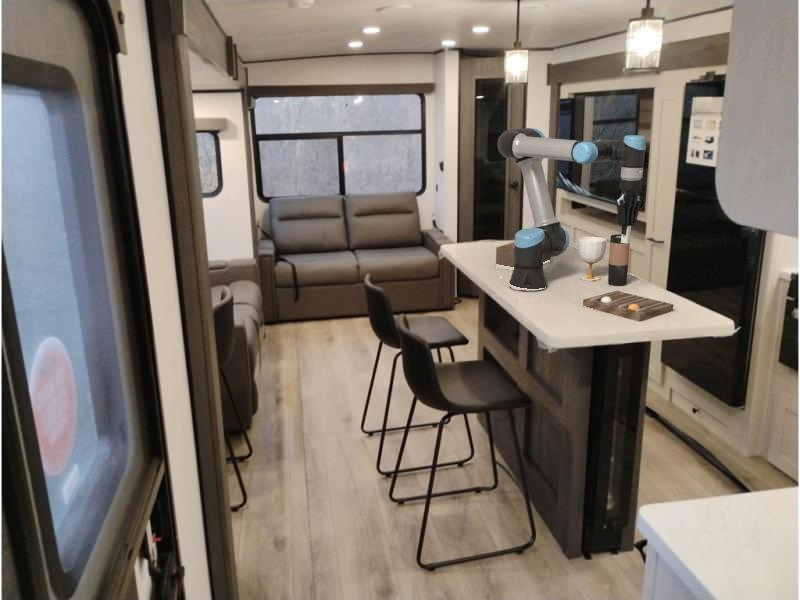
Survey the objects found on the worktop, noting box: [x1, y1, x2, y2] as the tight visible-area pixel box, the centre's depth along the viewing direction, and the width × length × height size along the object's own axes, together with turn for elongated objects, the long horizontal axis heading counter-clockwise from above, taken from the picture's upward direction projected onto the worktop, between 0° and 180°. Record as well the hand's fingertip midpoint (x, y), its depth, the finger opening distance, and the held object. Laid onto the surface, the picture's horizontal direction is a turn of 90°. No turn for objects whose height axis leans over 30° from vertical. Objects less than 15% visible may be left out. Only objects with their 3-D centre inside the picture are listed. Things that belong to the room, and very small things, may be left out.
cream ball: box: [601, 296, 612, 303], centre depth 235 cm, size 4×4×4 cm
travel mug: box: [607, 233, 631, 287], centre depth 264 cm, size 8×8×20 cm
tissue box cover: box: [495, 241, 552, 267], centre depth 303 cm, size 26×14×10 cm, turn 140°
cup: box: [577, 236, 608, 281], centre depth 274 cm, size 12×12×17 cm
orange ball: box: [628, 304, 640, 311], centre depth 225 cm, size 4×4×4 cm
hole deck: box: [582, 290, 674, 323], centre depth 233 cm, size 24×19×3 cm
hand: (625, 242), depth 243 cm, fingers closed
